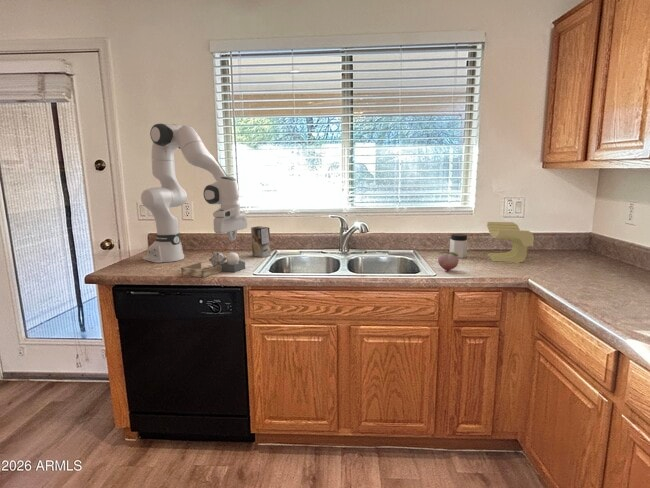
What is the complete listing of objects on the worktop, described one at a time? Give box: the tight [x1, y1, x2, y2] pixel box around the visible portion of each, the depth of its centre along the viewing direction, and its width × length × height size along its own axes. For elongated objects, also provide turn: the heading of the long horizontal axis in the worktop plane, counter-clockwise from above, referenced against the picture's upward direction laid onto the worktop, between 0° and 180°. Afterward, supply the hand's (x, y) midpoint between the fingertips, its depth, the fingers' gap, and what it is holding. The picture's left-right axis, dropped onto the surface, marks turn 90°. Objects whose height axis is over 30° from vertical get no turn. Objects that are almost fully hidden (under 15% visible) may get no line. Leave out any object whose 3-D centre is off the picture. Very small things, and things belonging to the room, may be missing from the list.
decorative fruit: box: [437, 249, 459, 272], centre depth 181 cm, size 9×8×10 cm
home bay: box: [180, 262, 222, 278], centre depth 182 cm, size 14×12×3 cm
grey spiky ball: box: [208, 250, 227, 267], centre depth 192 cm, size 9×8×10 cm
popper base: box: [221, 260, 246, 273], centre depth 187 cm, size 8×8×4 cm
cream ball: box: [226, 252, 240, 265], centre depth 187 cm, size 6×6×7 cm
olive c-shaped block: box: [486, 221, 535, 263], centre depth 202 cm, size 30×16×18 cm, turn 167°
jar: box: [449, 233, 469, 259], centre depth 210 cm, size 9×8×12 cm
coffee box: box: [250, 225, 272, 258], centre depth 217 cm, size 9×6×16 cm
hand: (232, 240), depth 185 cm, fingers closed
